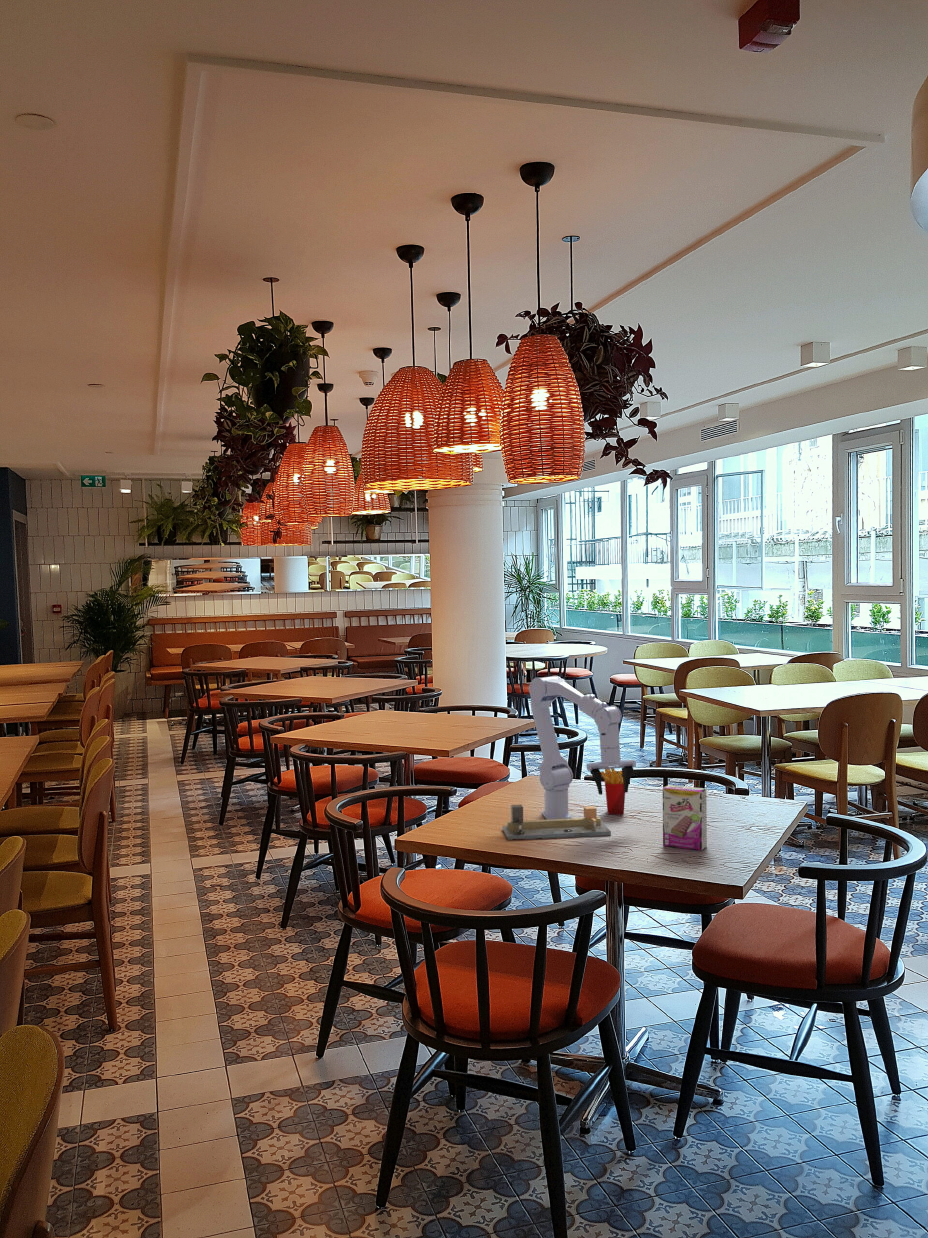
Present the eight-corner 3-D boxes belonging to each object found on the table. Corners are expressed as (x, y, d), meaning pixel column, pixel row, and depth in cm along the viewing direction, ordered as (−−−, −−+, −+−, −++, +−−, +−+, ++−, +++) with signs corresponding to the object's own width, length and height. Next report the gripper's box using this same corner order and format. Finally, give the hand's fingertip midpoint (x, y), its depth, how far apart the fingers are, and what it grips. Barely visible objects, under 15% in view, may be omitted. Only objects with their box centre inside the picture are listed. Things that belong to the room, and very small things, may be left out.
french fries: (625, 810, 305) (624, 764, 305) (627, 816, 297) (626, 768, 297) (597, 810, 306) (597, 764, 306) (598, 816, 298) (598, 769, 298)
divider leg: (583, 822, 285) (583, 806, 285) (594, 821, 285) (594, 806, 285) (589, 828, 277) (589, 812, 277) (600, 828, 278) (600, 812, 277)
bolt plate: (502, 829, 284) (502, 804, 284) (601, 825, 287) (600, 800, 287) (508, 840, 272) (507, 813, 272) (610, 835, 275) (610, 809, 275)
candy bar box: (662, 846, 263) (661, 787, 262) (668, 842, 267) (667, 784, 266) (702, 851, 257) (701, 791, 256) (707, 847, 261) (706, 787, 261)
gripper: (588, 750, 278) (592, 797, 278) (637, 747, 279) (640, 793, 279) (583, 748, 285) (586, 793, 285) (631, 744, 286) (634, 789, 286)
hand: (613, 793), depth 282 cm, fingers open, 7 cm apart
